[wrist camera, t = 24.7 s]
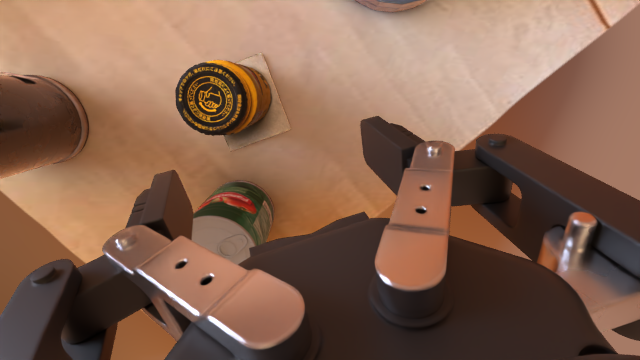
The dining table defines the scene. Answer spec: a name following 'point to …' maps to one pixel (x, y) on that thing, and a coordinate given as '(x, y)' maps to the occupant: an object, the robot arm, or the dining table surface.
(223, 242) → the canned tomato
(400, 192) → the robot arm
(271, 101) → the condiment
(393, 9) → the bowl
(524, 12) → the dining table surface
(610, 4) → the dining table surface
